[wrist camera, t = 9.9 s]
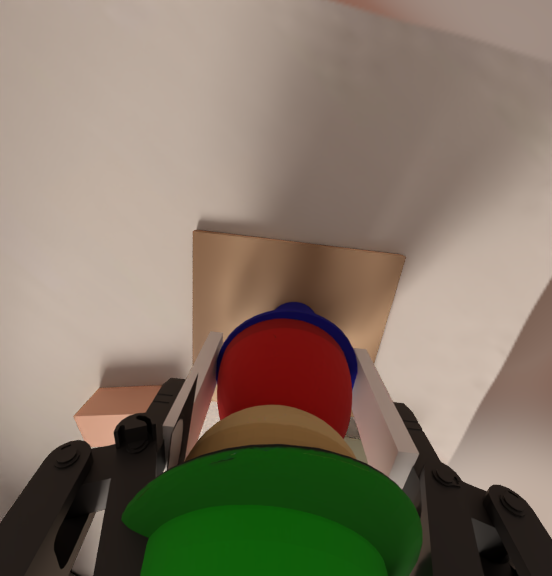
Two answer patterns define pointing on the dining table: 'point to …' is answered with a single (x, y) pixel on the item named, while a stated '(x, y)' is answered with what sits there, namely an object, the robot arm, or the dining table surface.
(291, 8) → the dining table surface
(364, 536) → the toy
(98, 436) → the terracotta brick
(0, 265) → the dining table surface
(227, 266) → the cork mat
